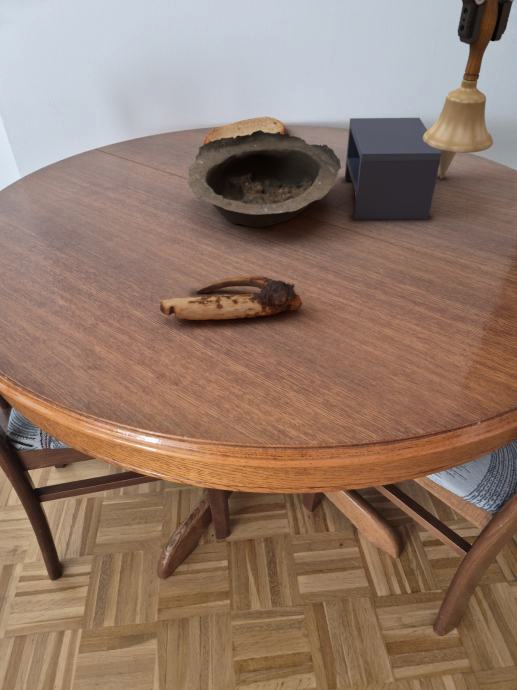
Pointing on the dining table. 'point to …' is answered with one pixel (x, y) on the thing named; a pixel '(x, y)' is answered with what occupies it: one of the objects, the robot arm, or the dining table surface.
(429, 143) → the hand bell
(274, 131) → the bread slice
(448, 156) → the ice cream cone
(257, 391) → the dining table surface
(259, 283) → the lashed bone hook
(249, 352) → the dining table surface
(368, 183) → the shelf
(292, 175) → the stone bowl
